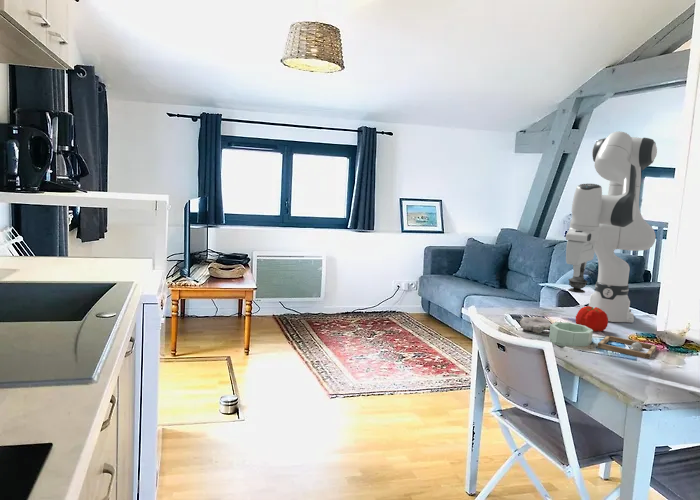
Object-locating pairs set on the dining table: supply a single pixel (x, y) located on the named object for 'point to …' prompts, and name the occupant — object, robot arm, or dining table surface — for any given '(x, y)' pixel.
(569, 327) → the bowl
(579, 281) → the chess piece
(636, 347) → the pebble
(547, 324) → the fossil
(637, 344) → the pebble
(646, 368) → the dining table surface
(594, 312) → the tomato
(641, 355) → the oak tray
